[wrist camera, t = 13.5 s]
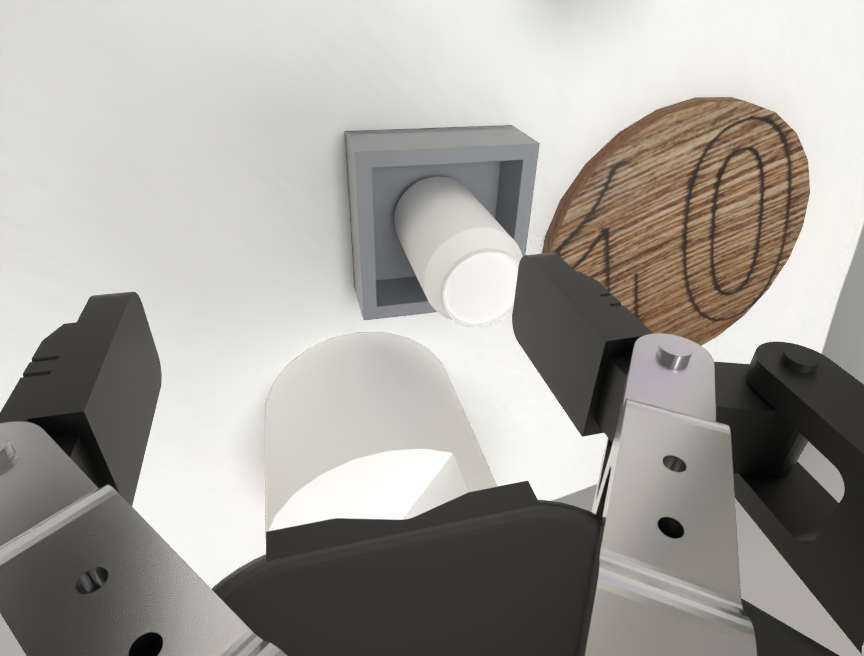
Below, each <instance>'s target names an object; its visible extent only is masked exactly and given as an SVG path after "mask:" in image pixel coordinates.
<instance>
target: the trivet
mask: <svg viewBox="0 0 864 656" xmlns="http://www.w3.org/2000/svg"><path fill="white" fill-rule="evenodd" d="M809 194H810V187H809V169H808V160H807V157H806V155H805V152H804V150H803V147H802V145H801V143H800V140H799V138H798V135H797V133H796V132H795V131H794V130H793V129H792V128H791V127H790V126H789V125H788V124H787V123H786V122H785V121H784V120H783V119H782V118H781V117H780V116H779V115H778V114H777V113H776V112H773V111H770V110H767V109H765V108H762V107H759V106H757V105H754V104H751V103H749V102H746V101H742V100H739V99H735V98H732V97H715V98H693V99H690V100H686V101H683V102H680V103H677V104H674V105H670V106H667V107H664V108H661V109H658V110H655V111H654V112H652V113H651V114H649V115H647V116H646V117H644V118H642V119H641V120H639V121H637V122H636V123H634V124H632V125H631V126H629V127H627V128H626V129H624V130H623V131H621V132H619V133H618V134H617V135H616V136H615V137H614V138H613V139H612V140H611V141H610V142H608V143H607V144H606V145H605V146H604V147H603V148H602V149H601V150H600V151H599V152H598V153H597V154H596V155H595V156H594V157H593V158H592V159H591V160H589V161H588V162H587V163H586V164H585V166H584V167H583V169H582V170H581V172H580V173H579V174H578V176H577V177H576V179H575V180H574V182H573V183H572V184H571V186H570V187H569V189H568V190H567V192H566V193H565V194H564V196H563V197H562V199H561V200H560V203H559V205H558V207H557V210H556V212H555V215H554V217H553V219H552V222H551V224H550V226H549V229H548V231H547V234H546V236H545V240H544V247H543V253H542V254H546V253H557V254H558V255H559V256H560V257H561V258H562V259H563V260H564V261H565V262H566V263H568V264H569V265H570V266H571V267H572V268H573V269H574V270H575V271H579V272H581V273H583V274H585V275H587V276H589V277H591V278H593V279H595V280H597V281H599V282H600V283H601V284H602V285H603V286H604V287H605V288H606V289H607V290H608V291H609V292H610V293H611V296H612V295H613V296H614V297H615V298H617V299H618V300H619V301H620V302H621V306H623V305H624V306H625V307H626V308H627V309H628V310H629V311H630V312H631V313H632V314H633V315H635V316H636V317H637V318H638V319H639V320H640V321H641V322H642V323H643V324H644V325H645V326H646V327H647V328H648V329H649V330H650V331H651V332H653V333H663V334H671V335H676V336H680V337H683V338H686V339H689V340H691V341H693V342H695V343H697V344H699V345H700V346H701V345H703V344H705V343H707V342H708V341H710V340H712V339H714V338H715V337H717V336H718V335H720V334H721V333H722V332H724V331H725V330H726V329H727V328H729V327H730V326H731V325H732V324H734V323H735V322H736V321H737V320H739V319H740V318H741V317H742V316H744V315H745V314H746V313H747V312H748V310H749V309H750V308H751V307H752V306H753V305H754V304H755V303H756V302H757V301H758V300H759V298H760V297H761V296H762V295H763V294H764V293H765V292H766V291H767V290H768V289H769V287H770V286H771V284H772V283H773V281H774V280H775V278H776V277H777V275H778V274H779V272H780V271H781V269H782V268H783V266H784V265H785V263H786V262H787V260H788V259H789V257H790V254H791V252H792V250H793V247H794V245H795V243H796V241H797V238H798V236H799V234H800V231H801V229H802V227H803V223H804V218H805V213H806V209H807V204H808V199H809Z"/></svg>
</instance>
